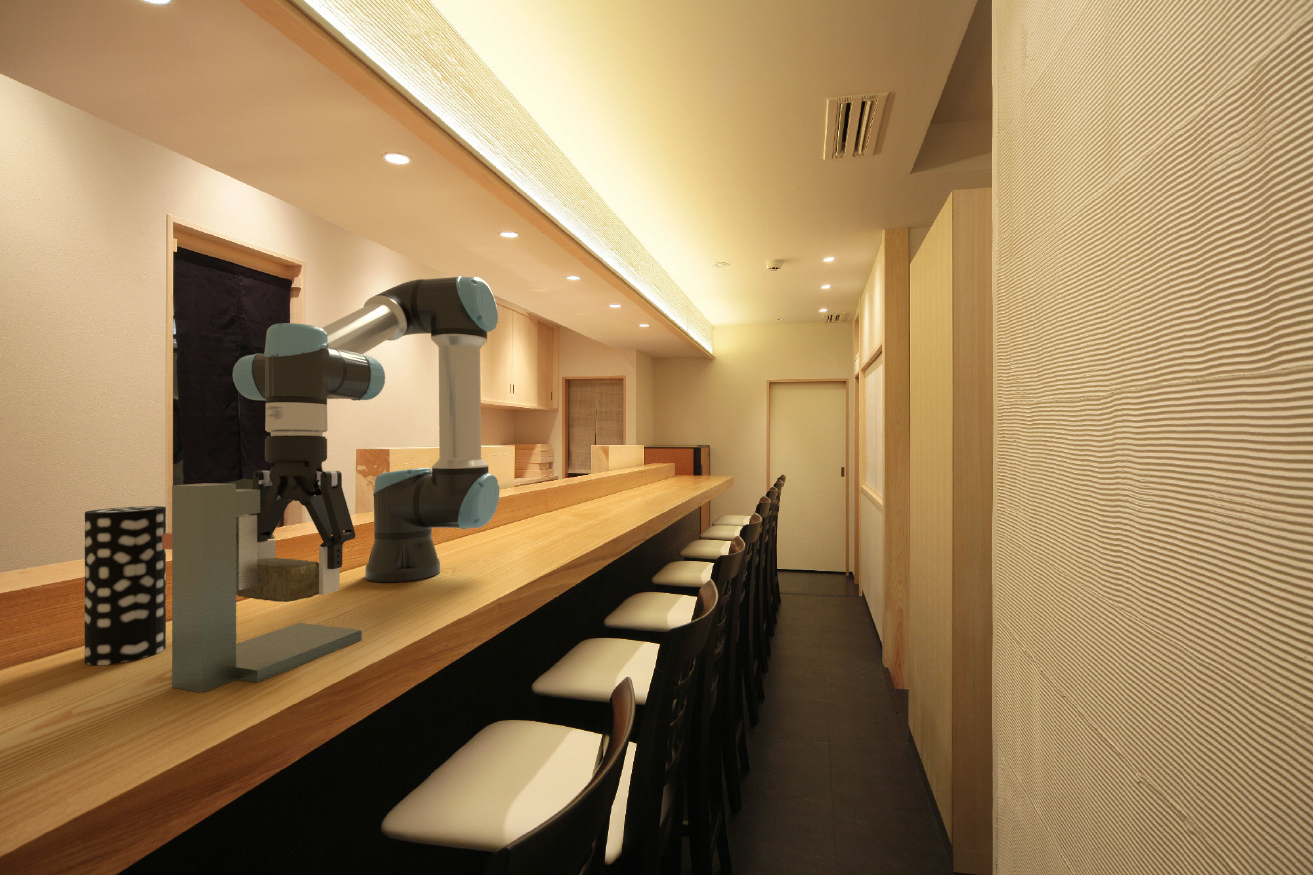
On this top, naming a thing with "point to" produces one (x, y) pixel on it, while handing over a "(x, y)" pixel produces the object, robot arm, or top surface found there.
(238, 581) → the hammer
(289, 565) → the stone block
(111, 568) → the white-spotted black cylinder
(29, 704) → the top surface
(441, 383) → the robot arm
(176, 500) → the press
